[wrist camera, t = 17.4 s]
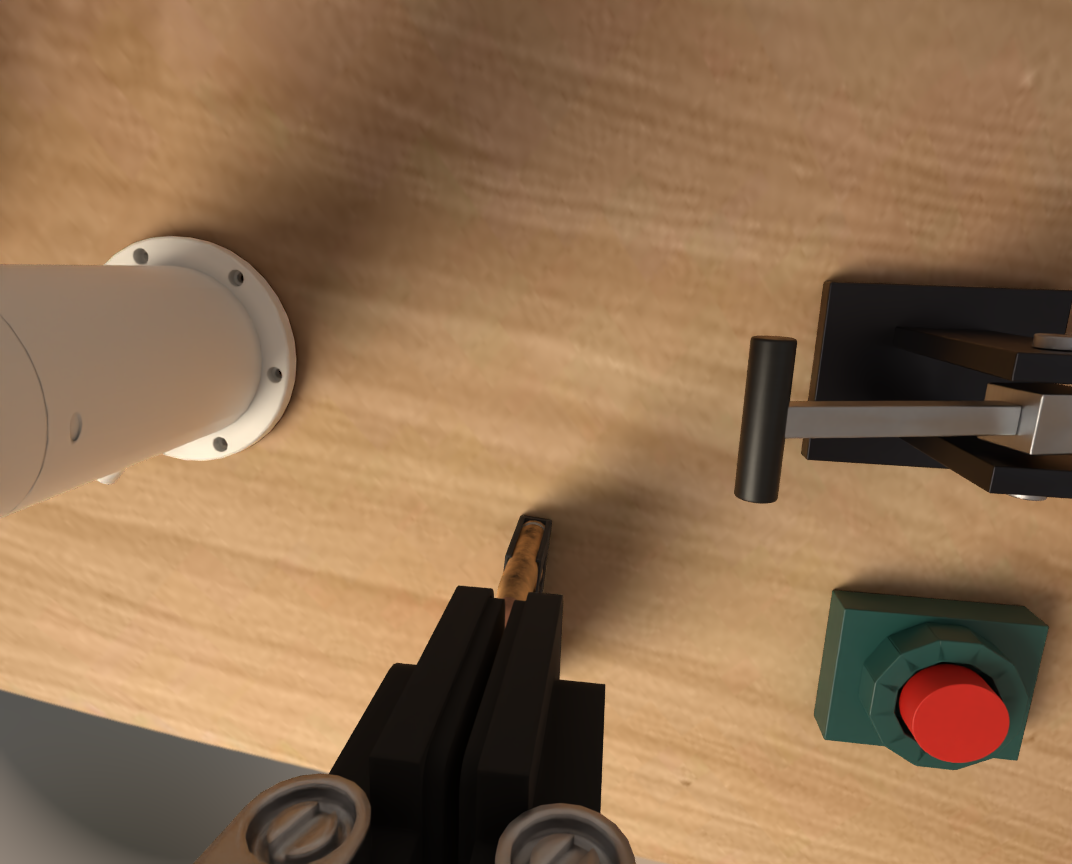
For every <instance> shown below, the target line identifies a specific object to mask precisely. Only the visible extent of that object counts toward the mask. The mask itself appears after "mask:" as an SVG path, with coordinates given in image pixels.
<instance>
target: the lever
mask: <svg viewBox="0 0 1072 864" xmlns="http://www.w3.org/2000/svg"><path fill="white" fill-rule="evenodd" d="M796 347H797V340H796V339H794V338H789V337H780V336H753V337H752V338H751V342H750V351H749V360H748V370H747V379H746V388H745V397H744V406H743V416H742V425H741V434H740V443H739V452H738V462H737V471H736V480H735V489H734V494H735V496H736V497H738V498H739V499H742V500H744V501H748V502H752V503H772V502H775V501H776V500H777V499H778V491H779V483H780V475H781V467H782V459H783V451H784V443H785V438H855V437H925V436H977V438H978V439H980V440H983V441H986V442H989V443H993V444H996V445H999V446H1002V447H1006V448H1009V449H1012V450H1015V451H1018V452H1022V453H1025V454H1028V455H1067V454H1072V387H1070V386H1065V385H1059V384H1054V383H999V382H990V383H988V384H987V388H986V394H985V399H984V401H790V395H791V387H792V379H793V371H794V363H795V355H796Z"/></svg>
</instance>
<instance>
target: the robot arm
mask: <svg viewBox="0 0 1072 864" xmlns="http://www.w3.org/2000/svg"><path fill="white" fill-rule="evenodd" d="M242 274H243V278H244V281H242V279H241V276H242ZM296 362H297V359H296V350H295V341H294V336H293V333H292V329H291V326H290V323H289V319H288V316H287V314H286V312H285V310H284V308H283V306H282V304H281V302H280V300H279V298H278V296H277V295H276V294H275V292H274V291H273V289H272V288H271V287H270V285H269V284H268V283H267V281H266V280H265V279H264V278H263V277H262V276H261V275H260V274H259V273H258V272H257V271H256V270H255V269H254V268H253V267H252V266H251V265H250V264H249V263H248V262H246V261H245V260H243V259H242V258H241V257H239V256H238V255H236V254H235V253H233V252H232V251H230V250H228V249H226V248H223V247H221V246H219V245H217V244H214V243H212V242H209V241H204V240H200V239H196V238H191V237H177V236H165V237H154V238H148V239H145V240H141V241H138V242H135V243H133V244H131V245H129V246H127V247H126V248H124V249H122V250H121V251H119V252H117V253H116V254H114V255H113V256H112V257H111V258H110V259H109V260H108V261H107V262H106V263H105V264H104V265H17V264H0V519H1V518H3V517H6V516H8V515H11V514H13V513H16V512H18V511H21V510H23V509H26V508H28V507H31V506H33V505H36V504H38V503H41V502H43V501H46V500H48V499H51V498H53V497H56V496H58V495H61V494H63V493H66V492H68V491H71V490H73V489H76V488H78V487H81V486H83V485H85V484H88V483H90V482H93V481H95V480H97V481H99V482H101V483H104V484H108V485H109V484H114V483H115V482H116V481H117V480H118V479H119V478H120V476H121V475H122V473H123V472H124V471H125V469H126V468H128V467H130V466H133V465H135V464H138V463H140V462H143V461H145V460H148V459H150V458H153V457H155V456H158V455H160V454H164V455H167V456H171V457H175V458H179V459H183V460H196V461H206V460H213V459H220V458H224V457H227V456H230V455H232V454H235V453H238V452H240V451H242V450H244V449H246V448H248V447H250V446H252V445H254V444H255V443H257V442H258V441H259V440H260V439H262V438H263V437H264V436H265V435H266V434H268V433H269V432H270V431H271V430H272V428H273V427H274V426H275V425H276V423H277V422H278V421H279V420H280V418H281V417H282V415H283V413H284V411H285V409H286V407H287V405H288V403H289V401H290V398H291V394H292V390H293V387H294V383H295V375H296ZM279 369H280V371H281V372H282V376H280V374H279ZM226 441H227V442H226ZM562 615H563V595H558V594H547V593H536V592H528V595H527V598H526V601H523V600H514V602H513V605H512V608H511V611H510V615H509V618H508V621H507V624H506V627H505V599H501V598H494V592H493V589H491V588H480V587H468V586H458V587H457V588H456V590H455V592H454V594H453V596H452V598H451V599H450V601H449V603H448V605H447V607H446V609H445V611H444V613H443V615H442V617H441V619H440V621H439V623H438V625H437V626H436V628H435V630H434V632H433V634H432V636H431V638H430V640H429V642H428V644H427V646H426V648H425V650H424V652H423V654H422V655H421V657H420V659H419V661H418V663H417V665H412V664H402V663H396V664H393V666H392V667H391V668H390V669H389V671H388V673H387V674H386V676H385V678H384V680H383V681H382V683H381V685H380V686H379V688H378V690H377V692H376V693H375V695H374V697H373V698H372V700H371V702H370V704H369V705H368V707H367V709H366V711H365V712H364V714H363V716H362V717H361V719H360V721H359V723H358V724H357V726H356V728H355V730H354V731H353V733H352V735H351V736H350V738H349V740H348V742H347V743H346V745H345V747H344V748H343V750H342V752H341V754H340V755H339V757H338V759H337V761H336V762H335V764H334V766H333V767H332V769H331V771H330V773H329V774H321V773H320V774H312V775H302V776H298V777H295V778H291V779H288V780H285V781H282V782H280V783H278V784H276V785H274V786H273V787H271V788H269V789H267V790H265V791H263V792H261V793H260V794H259V795H258V796H257V797H256V798H254V799H253V800H252V801H251V802H250V803H249V804H247V805H246V806H245V807H244V808H243V809H242V811H241V812H240V813H239V814H238V815H237V816H236V817H235V818H234V819H233V821H232V822H231V823H230V824H229V825H228V826H227V827H226V828H225V829H224V831H223V832H222V833H221V834H220V835H219V836H218V837H217V838H216V839H215V841H213V843H212V844H211V845H210V846H209V847H208V848H207V849H206V850H205V851H204V852H203V854H202V855H201V856H200V857H199V858H198V859H197V860H196V861H195V862H194V863H193V864H636V863H635V857H634V854H633V852H632V849H631V847H630V844H629V841H628V839H627V838H626V837H625V835H624V834H623V833H622V832H621V830H620V829H619V828H618V827H617V825H616V824H614V823H613V822H612V821H610V820H609V819H607V818H606V817H605V816H603V815H602V814H600V809H601V784H602V758H603V733H604V708H605V684H596V683H587V682H577V681H567V680H559V676H560V656H561V635H562Z"/></svg>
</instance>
